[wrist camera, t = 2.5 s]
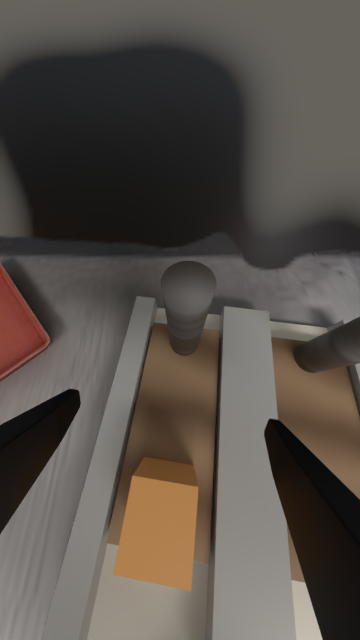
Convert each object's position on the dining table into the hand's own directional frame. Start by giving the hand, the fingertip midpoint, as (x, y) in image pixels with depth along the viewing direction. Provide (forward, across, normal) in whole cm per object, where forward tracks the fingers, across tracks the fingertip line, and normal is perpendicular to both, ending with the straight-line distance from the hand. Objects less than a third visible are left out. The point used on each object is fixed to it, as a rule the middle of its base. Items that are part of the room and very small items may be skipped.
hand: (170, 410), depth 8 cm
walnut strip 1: (+8, 0, +9) cm, 12 cm away
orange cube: (+3, 0, +12) cm, 12 cm away
